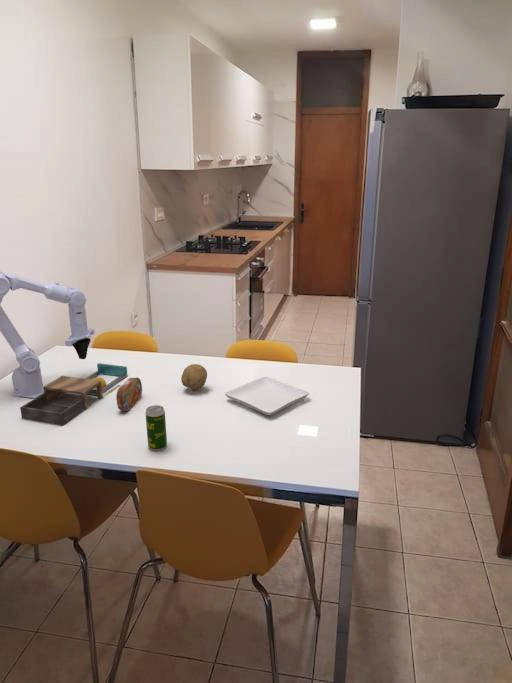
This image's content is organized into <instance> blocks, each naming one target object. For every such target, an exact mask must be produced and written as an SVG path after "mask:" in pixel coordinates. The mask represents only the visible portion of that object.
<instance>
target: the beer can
mask: <svg viewBox="0 0 512 683" xmlns="http://www.w3.org/2000/svg"><path fill="white" fill-rule="evenodd" d="M144 413H145V425H146V426H145V427H146V435H147V447H148V448H149V450H150V451H151V452H152V451H153V452H159V451H163V450H165V449H166V448H167V445H168V438H167V424H166V412H165V408H164V406H163V405H156V404H154V405H151V406H148V407H147V408H145V412H144Z"/></svg>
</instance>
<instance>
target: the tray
mask: <svg viewBox="0 0 512 683" xmlns="http://www.w3.org/2000/svg"><path fill="white" fill-rule="evenodd" d="M96 386H97V395H96V396H97V399H98V400H102V399H104V398H106V397H107V396H108V395H110V394H111V393H112V392H114V391H115V390H117V389H118V388H120V387H121V384H116V385H114V387H111V389H108V390H107V391H106V392H104V394H103V393H102V385H101V381H97V380H89V379H85V378H82V377H81V378H80V377H74V376H73V377H72V376H67V375H61V376H60V377H58V378H56V379H54V380H53V381H50V382H49V383H47V384H45V385H43V389H44V393H43V394H41V395H40V396H38V397H36V398H32V400H30V401H29V402H27V403H25V404H23V405H22V406H20V408H19V409H20V414H21V415H20V416H21V419H22V420H28V421H33V422H39V423H45V424H50V425H51V424H52V425H56V426H57V425H58V426H65V425H66V424H68V423H69V422H71V421H72V420H73V419H75V418H76V417H77V416H79V415H80V414H82V413H83V412H84V411H86V410H88V401H87V400H88V398H87V394H86V393H87V392H89V391H90V390H92V389H93V388H95V387H96ZM117 387H118V388H117ZM116 388H117V389H116ZM113 390H114V391H113ZM64 393H65V394H66V393H68V394H75V395H80V399H79V400H78V401H76V402H75V403H73V404H72V405H70V406H65V405H57V404H54V403H53V404H51V403H52V402H54V401H55V400H56V399H58V398H59V396H60V397H61V395H62V396H63V395H65V394H64ZM109 393H110V394H109ZM53 400H54V401H53Z"/></svg>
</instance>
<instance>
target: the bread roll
mask: <svg viewBox="0 0 512 683" xmlns="http://www.w3.org/2000/svg"><path fill="white" fill-rule="evenodd" d="M89 380H97V381H101V385H102V388H103V387H105V386H106V385H107V382H106V380H105V379H104V378H102V377H94V378H92V379H89ZM95 389H97V386H96V387H95Z"/></svg>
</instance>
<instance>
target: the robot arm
mask: <svg viewBox="0 0 512 683" xmlns="http://www.w3.org/2000/svg"><path fill="white" fill-rule="evenodd" d="M19 289H23V290H26V291H31V292H35V293H40V294H43V295H44V297H45V299H47V300H50V301H55V302H57V303H58V302H59V303H61V304H68V305H67V306H68V315H69V316H68V317H69V327H70V334H71V335H70V336H68V338H66V339H65V340H64V344H65V346H67V347H71V346H72V347H73V348H74V350H75V352H76V354H77V357H78V359H79V360H85V359H87V357H88V356H87V354H88V348H89V346H90V343H91V337H92V335H95V328H88V321H87V312H86V306H85V305H86V304H87V298H86V296H85V294H84V293H83V292H82V291H80V290H79V289H78V288H75V287H73V286H69V287H67V286H64V285H61V284H60V283H59V282H57V281H54V282H49V283H47V284H45V283H41V282H39V281H35V280H33V279H29V278H26V277H24V276H20V275H17V274H13V273H9V272H4V273H3V272H2V271H0V333H1V334H2V336H3V337H4V339H5V340H6V342H7V343H8V345H9V346H10V348H11V349H12V351H13V352H14V353H15V357H16V358H15V359H16V361H17V362H18V364H19V367H17V368H15V369H14V370H13V371H12V374H11V382H12V386H13V393H12V396H16V397H21V396H22V397H23V398H29V399H35V398H37V397H38V396H40V395H42V394H43V393H44V389H43V387H44V384H43V383H44V382H43V376H42V370H41V366H40V364H41V361H40V359H39V357H38V356H37V355H36V353H35V351H34V350H33V349H32V348H30V347H29V346H27V343H25V341H24V339H23V338H22V336H21V335H20V334H19V332H18V330H17V329H16V327H15V326H14V324H13V322H12V321H11V319H10V318H9V316H8V315H7V313H6V312H5V310H4V308H3V307H2V306H1V304H2V301H3V298H4V297H5V296H6V295H7V294H8V293H9V291H10V290H11V291H12V292H13V291H16V290H19Z"/></svg>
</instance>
